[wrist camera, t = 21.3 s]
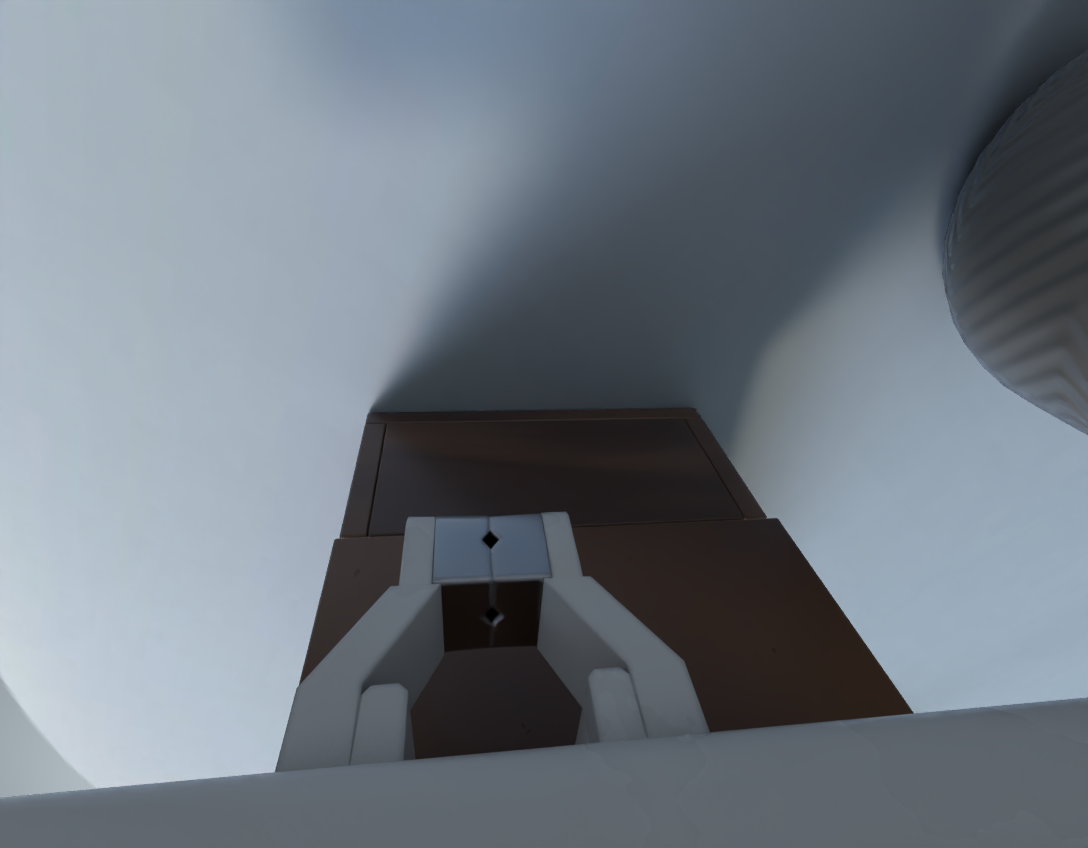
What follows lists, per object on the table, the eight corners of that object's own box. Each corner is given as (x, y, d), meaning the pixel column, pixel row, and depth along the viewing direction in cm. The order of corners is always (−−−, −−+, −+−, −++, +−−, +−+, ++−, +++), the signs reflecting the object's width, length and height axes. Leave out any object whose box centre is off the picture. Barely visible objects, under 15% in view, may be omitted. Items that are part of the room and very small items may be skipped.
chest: (637, 633, 33) (675, 754, 27) (398, 651, 31) (385, 786, 25) (695, 406, 24) (767, 516, 19) (367, 411, 22) (338, 536, 17)
